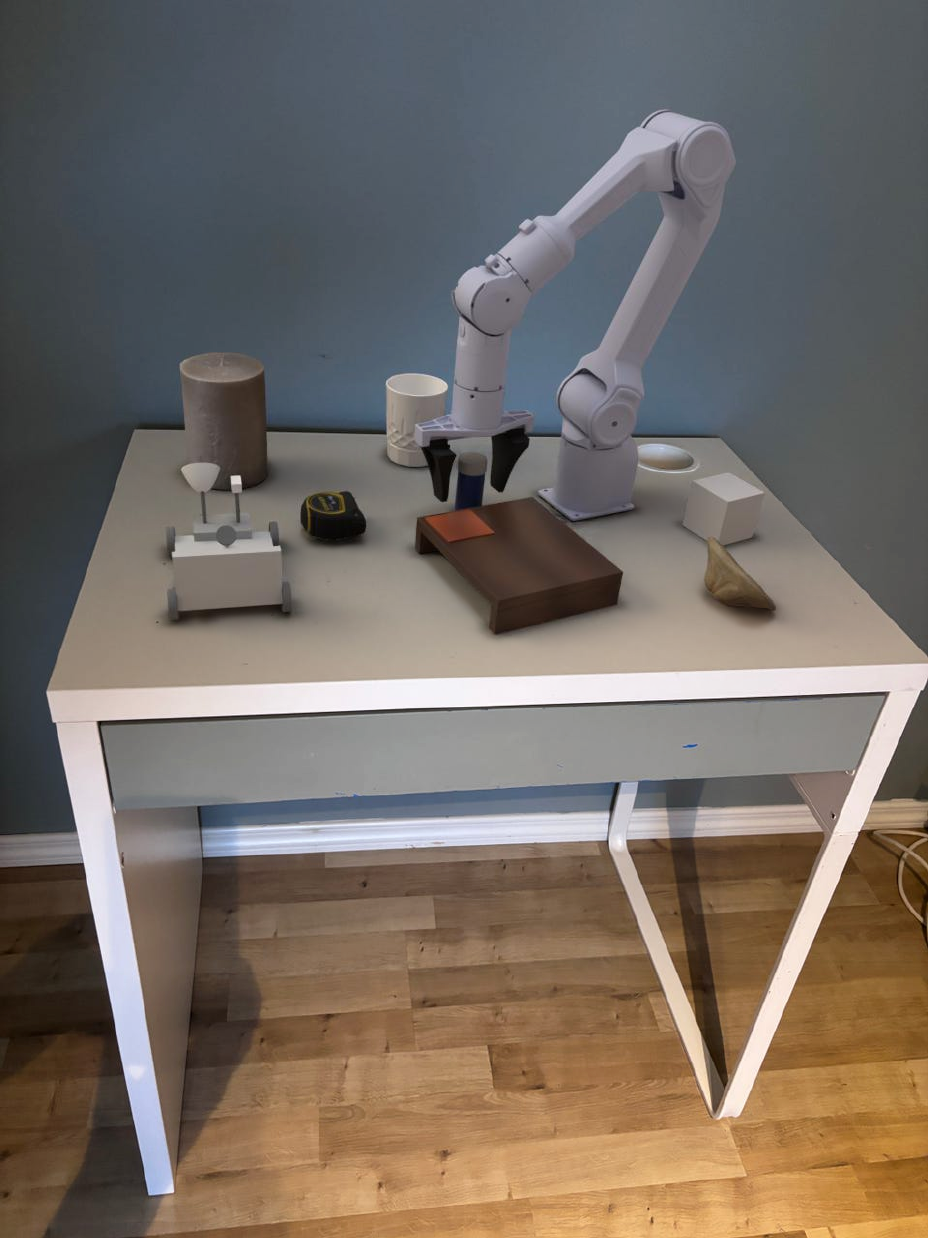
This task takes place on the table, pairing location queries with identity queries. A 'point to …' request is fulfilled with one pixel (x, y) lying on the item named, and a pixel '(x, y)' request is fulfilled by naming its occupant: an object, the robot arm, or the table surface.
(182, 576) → the toy car
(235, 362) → the pillar candle
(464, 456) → the glue stick
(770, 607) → the samosa
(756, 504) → the white cube
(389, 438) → the white cup
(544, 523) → the desk shelf
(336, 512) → the tape measure
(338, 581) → the table surface
